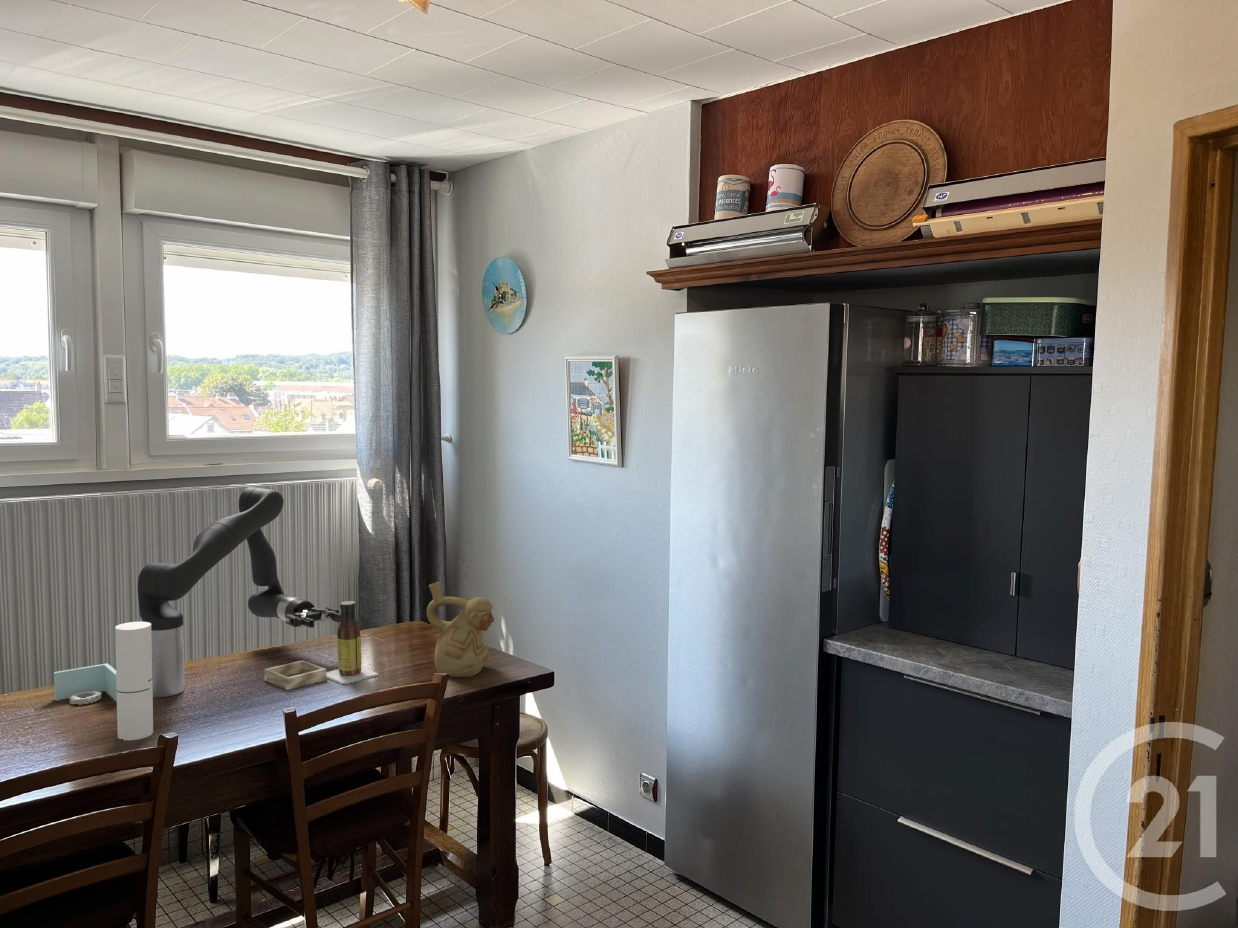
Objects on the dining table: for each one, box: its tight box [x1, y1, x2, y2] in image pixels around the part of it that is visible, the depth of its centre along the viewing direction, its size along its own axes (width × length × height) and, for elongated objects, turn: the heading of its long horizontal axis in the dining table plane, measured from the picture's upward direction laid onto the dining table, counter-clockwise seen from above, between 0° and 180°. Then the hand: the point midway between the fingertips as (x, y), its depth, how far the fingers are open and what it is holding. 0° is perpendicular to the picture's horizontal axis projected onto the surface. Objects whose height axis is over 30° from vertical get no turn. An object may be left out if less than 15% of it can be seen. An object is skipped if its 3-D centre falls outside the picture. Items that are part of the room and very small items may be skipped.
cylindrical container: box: [114, 621, 154, 741], centre depth 208 cm, size 7×7×25 cm
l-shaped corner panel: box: [53, 663, 117, 706], centre depth 229 cm, size 12×12×8 cm
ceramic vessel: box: [426, 581, 495, 678], centre depth 260 cm, size 17×20×25 cm
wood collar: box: [263, 659, 327, 691], centre depth 249 cm, size 12×12×3 cm
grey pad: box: [326, 666, 379, 685], centre depth 254 cm, size 11×11×1 cm
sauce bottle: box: [336, 600, 363, 676], centre depth 253 cm, size 7×6×20 cm
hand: (326, 621), depth 260 cm, fingers open, 8 cm apart
